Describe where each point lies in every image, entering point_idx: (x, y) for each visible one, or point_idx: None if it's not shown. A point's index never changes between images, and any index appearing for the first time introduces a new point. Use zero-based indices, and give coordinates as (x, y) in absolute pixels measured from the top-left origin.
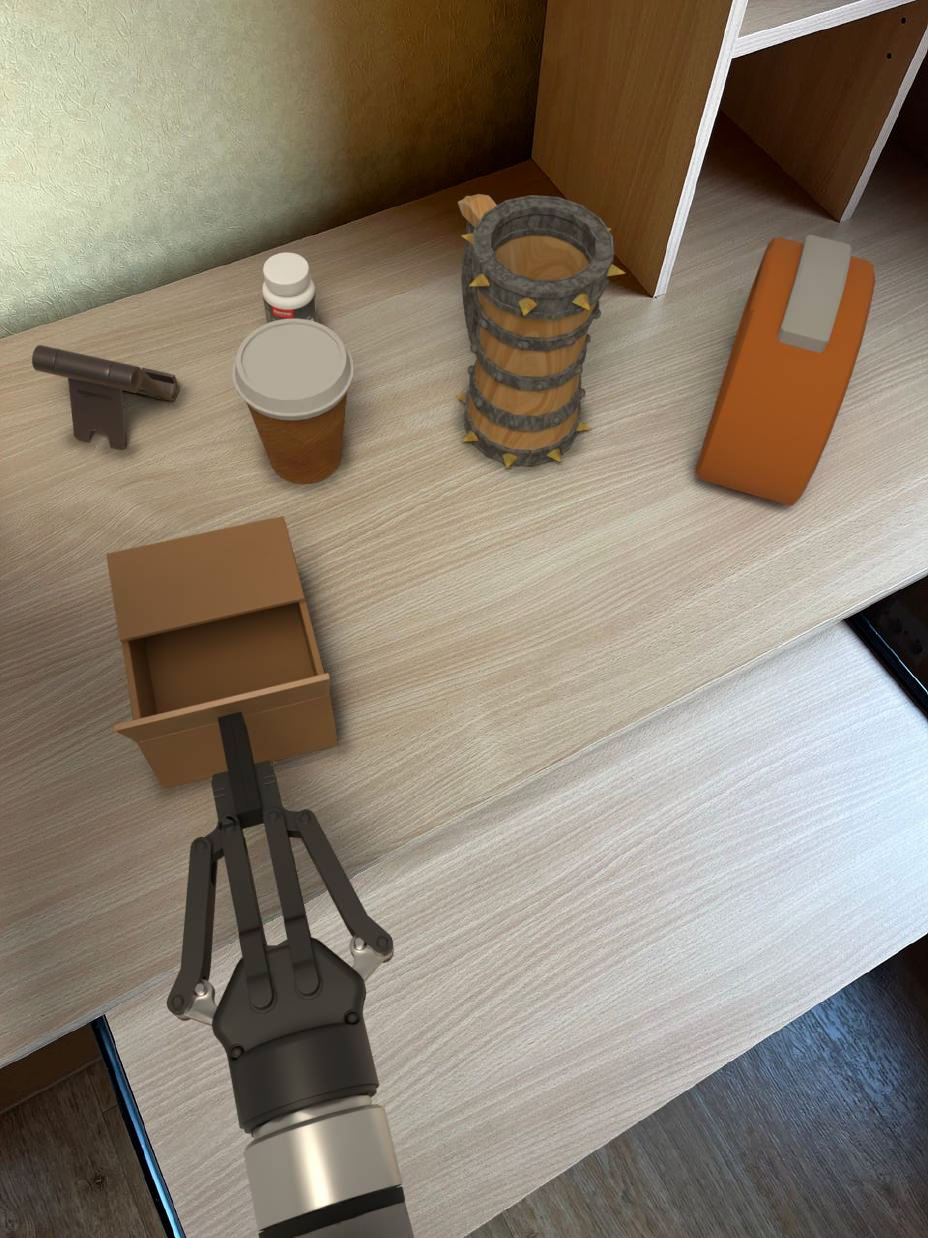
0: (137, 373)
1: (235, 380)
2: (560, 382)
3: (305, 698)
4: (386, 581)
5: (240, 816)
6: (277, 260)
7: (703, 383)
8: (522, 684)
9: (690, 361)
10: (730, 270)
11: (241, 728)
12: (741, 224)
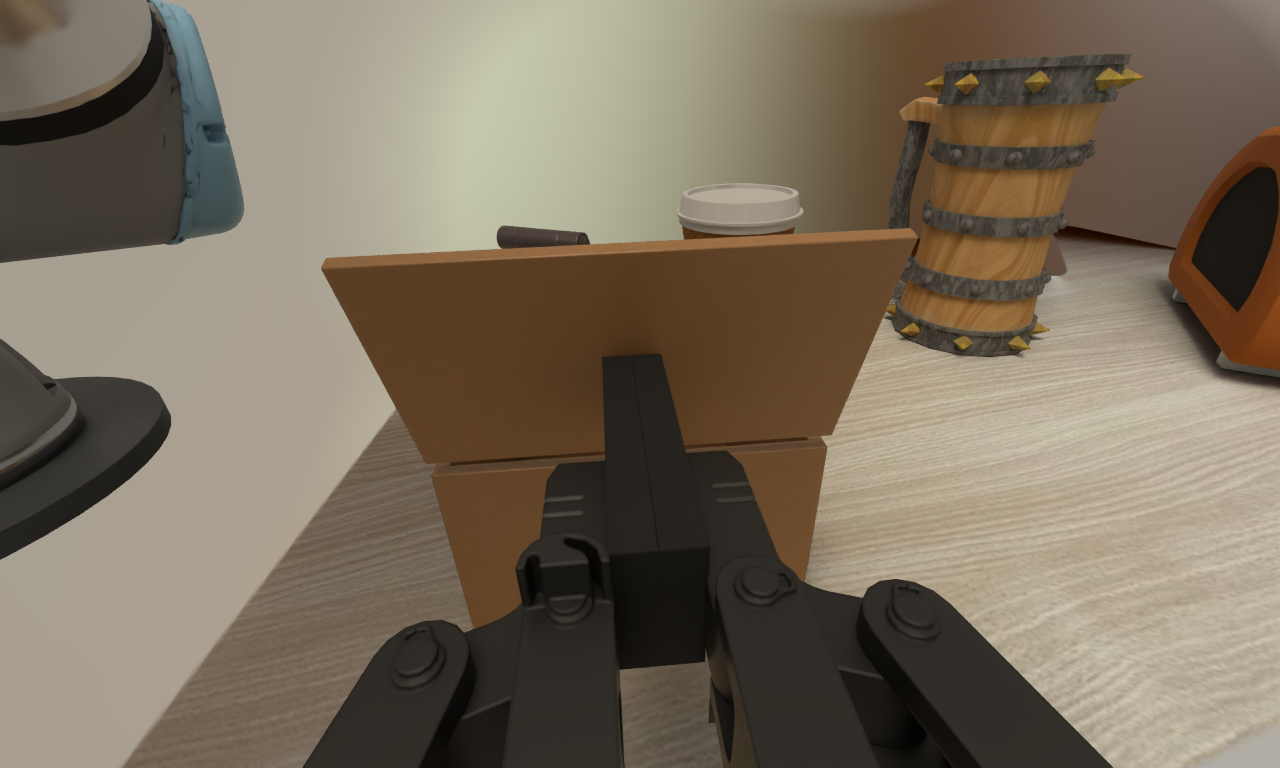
0: (584, 238)
1: (679, 212)
2: (1044, 229)
3: (788, 419)
4: (839, 428)
5: (621, 577)
6: None
7: (1154, 318)
8: (1120, 565)
9: (1124, 306)
10: (1117, 268)
11: (658, 374)
12: (1105, 252)
